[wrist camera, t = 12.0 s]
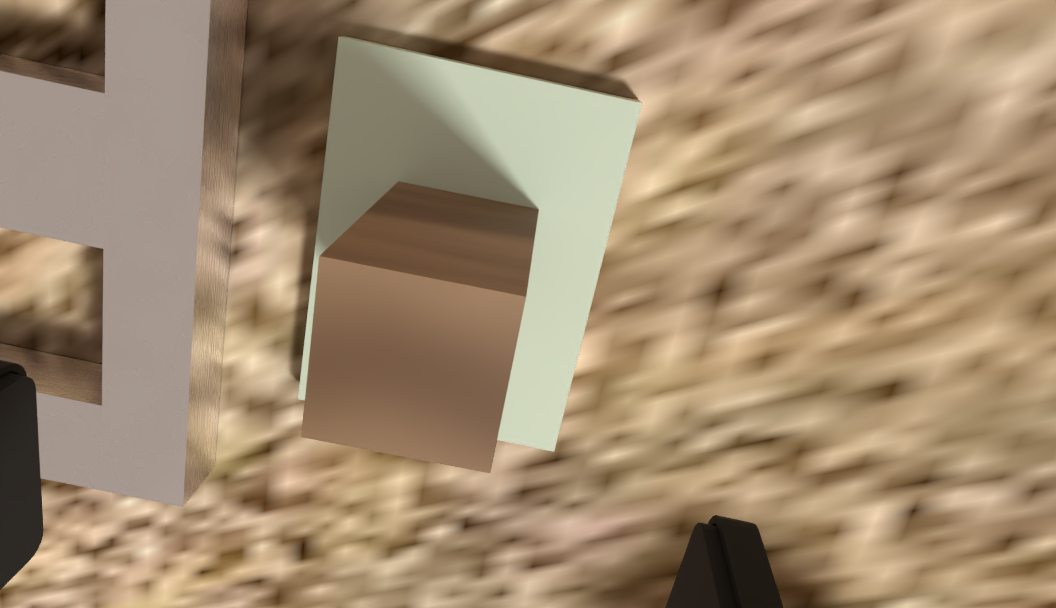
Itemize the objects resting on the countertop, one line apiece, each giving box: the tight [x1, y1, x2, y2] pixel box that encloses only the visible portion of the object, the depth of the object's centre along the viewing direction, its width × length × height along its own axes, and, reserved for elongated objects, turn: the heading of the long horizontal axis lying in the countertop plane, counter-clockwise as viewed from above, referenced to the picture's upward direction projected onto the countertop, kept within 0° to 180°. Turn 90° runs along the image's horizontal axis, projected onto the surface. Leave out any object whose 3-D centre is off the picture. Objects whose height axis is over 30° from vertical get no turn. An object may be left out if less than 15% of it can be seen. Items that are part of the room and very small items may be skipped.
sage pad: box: [298, 36, 642, 451], centre depth 25 cm, size 12×9×1 cm
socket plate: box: [0, 0, 248, 507], centre depth 23 cm, size 22×11×2 cm, turn 168°
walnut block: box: [301, 181, 539, 473], centre depth 20 cm, size 4×4×8 cm
